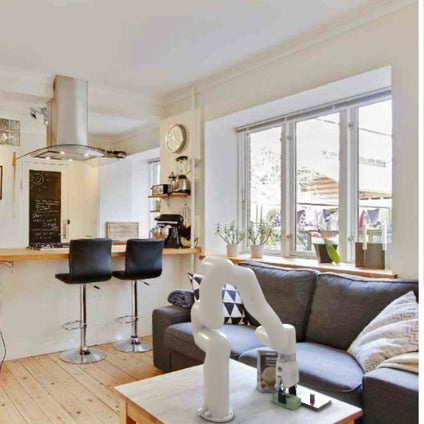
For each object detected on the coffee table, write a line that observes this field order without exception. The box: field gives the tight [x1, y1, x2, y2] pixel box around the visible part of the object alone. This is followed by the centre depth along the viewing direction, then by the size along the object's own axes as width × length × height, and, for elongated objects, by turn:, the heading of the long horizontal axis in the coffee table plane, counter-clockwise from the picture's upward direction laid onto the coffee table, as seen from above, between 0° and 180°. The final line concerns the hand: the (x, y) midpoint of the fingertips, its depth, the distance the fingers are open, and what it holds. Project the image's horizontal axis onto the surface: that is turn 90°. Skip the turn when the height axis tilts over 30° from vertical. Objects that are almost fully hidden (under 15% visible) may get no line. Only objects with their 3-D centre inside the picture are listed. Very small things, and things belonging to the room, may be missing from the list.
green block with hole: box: [271, 391, 302, 411], centre depth 168 cm, size 6×9×3 cm
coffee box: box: [256, 349, 283, 394], centre depth 182 cm, size 9×6×16 cm
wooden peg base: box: [297, 391, 332, 412], centre depth 169 cm, size 11×10×4 cm
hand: (287, 399), depth 169 cm, fingers open, 7 cm apart
